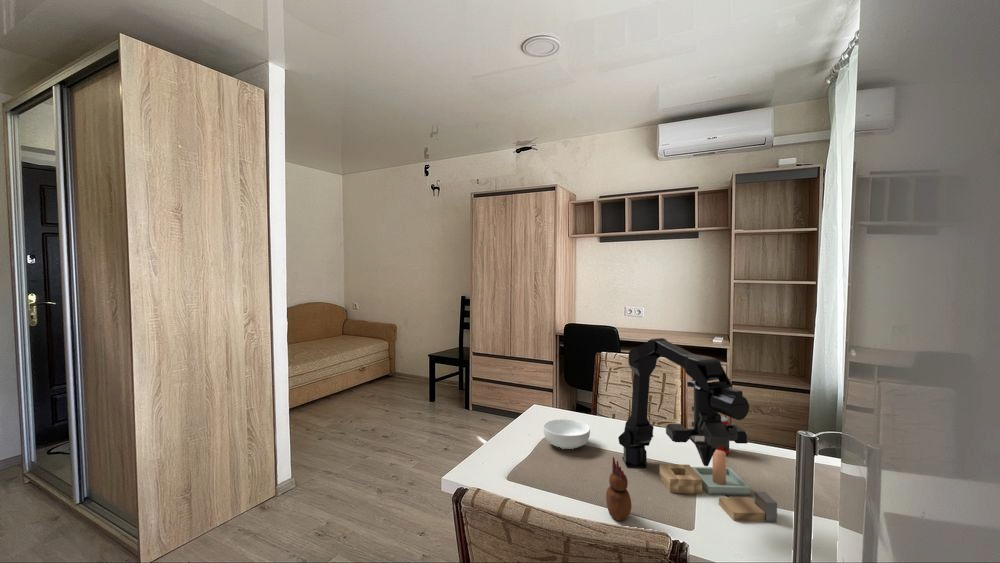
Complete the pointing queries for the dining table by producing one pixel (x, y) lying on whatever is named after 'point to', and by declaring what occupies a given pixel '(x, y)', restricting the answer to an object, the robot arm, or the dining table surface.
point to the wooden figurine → (618, 494)
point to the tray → (730, 488)
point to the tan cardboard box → (741, 509)
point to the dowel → (719, 467)
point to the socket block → (680, 478)
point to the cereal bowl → (566, 433)
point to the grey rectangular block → (767, 506)
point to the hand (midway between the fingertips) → (705, 465)
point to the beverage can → (726, 449)
